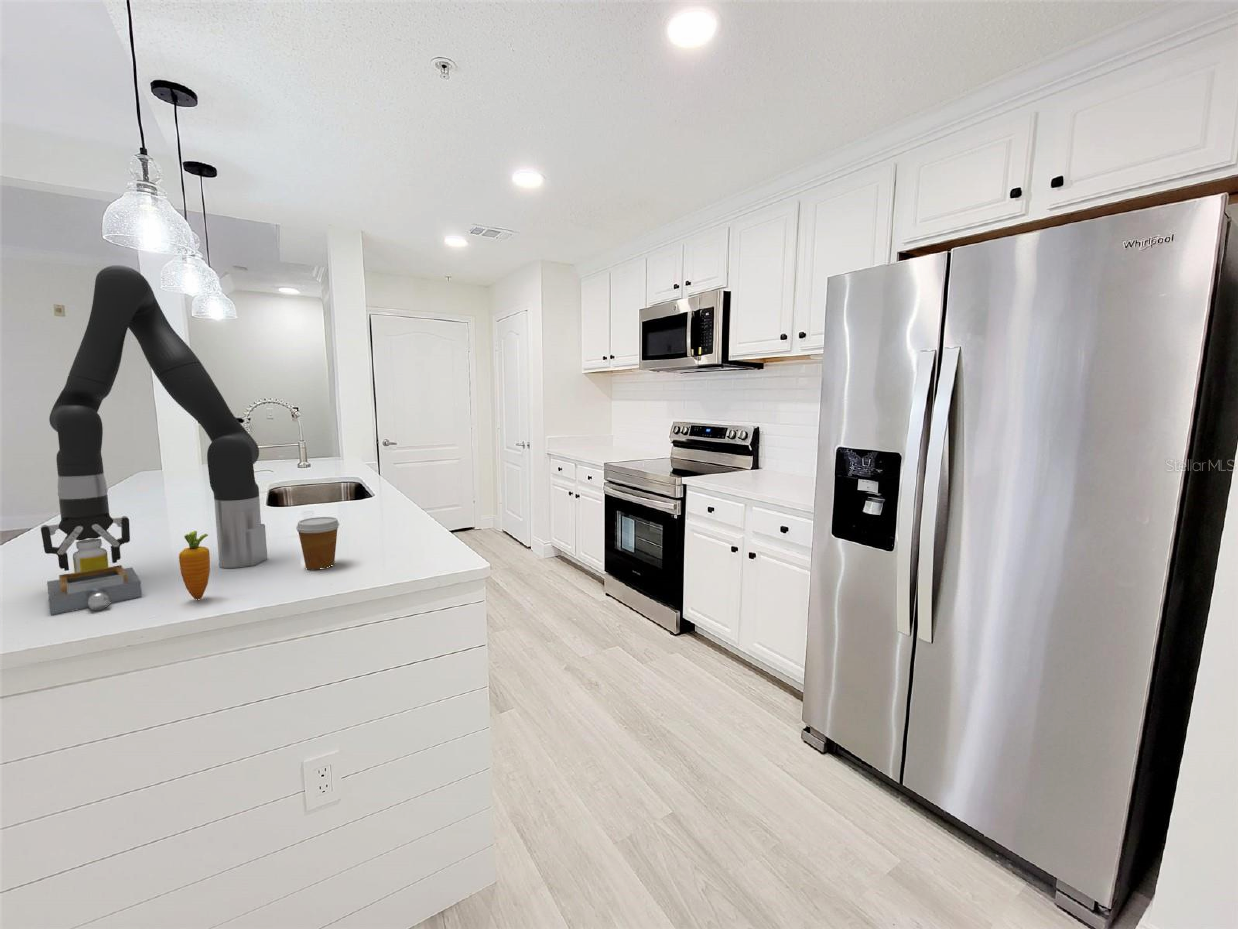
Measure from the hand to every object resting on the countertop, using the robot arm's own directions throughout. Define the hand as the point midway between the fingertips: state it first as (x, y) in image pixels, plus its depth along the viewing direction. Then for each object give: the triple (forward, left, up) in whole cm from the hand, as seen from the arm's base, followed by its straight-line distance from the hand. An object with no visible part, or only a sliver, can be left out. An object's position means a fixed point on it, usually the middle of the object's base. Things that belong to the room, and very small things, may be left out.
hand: (91, 565), depth 116 cm
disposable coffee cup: (-45, -11, -4) cm, 46 cm away
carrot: (-31, +11, -4) cm, 33 cm away
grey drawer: (-10, +11, -4) cm, 15 cm away
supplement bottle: (0, 0, -4) cm, 4 cm away
